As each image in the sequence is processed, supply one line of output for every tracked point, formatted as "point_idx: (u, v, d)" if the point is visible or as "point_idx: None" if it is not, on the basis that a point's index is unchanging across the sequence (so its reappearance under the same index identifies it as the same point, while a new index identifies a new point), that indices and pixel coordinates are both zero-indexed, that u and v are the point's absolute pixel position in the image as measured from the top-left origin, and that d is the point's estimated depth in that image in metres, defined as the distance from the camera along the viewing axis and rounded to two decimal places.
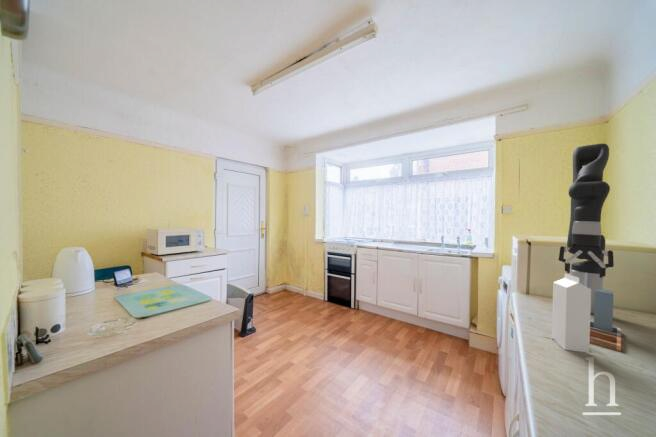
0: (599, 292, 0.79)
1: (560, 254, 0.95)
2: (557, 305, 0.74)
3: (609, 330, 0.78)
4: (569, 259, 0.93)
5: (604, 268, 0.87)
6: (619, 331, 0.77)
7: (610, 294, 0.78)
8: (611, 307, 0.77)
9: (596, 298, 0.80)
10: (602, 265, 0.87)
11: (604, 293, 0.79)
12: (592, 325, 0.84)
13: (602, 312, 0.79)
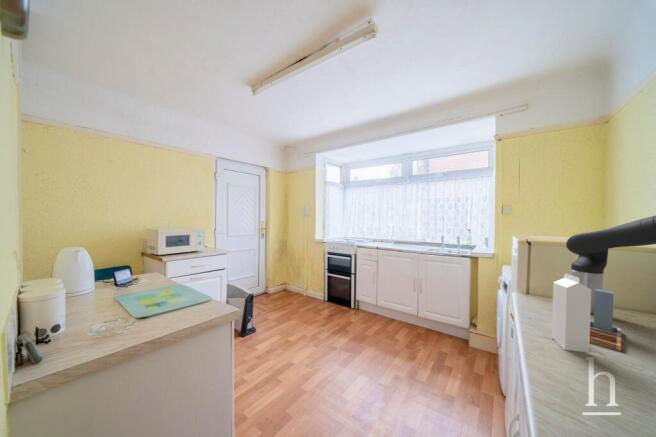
0: (599, 292, 0.79)
1: None
2: (557, 305, 0.74)
3: (609, 330, 0.78)
4: None
5: None
6: (619, 331, 0.77)
7: (610, 294, 0.78)
8: (611, 307, 0.77)
9: (596, 298, 0.80)
10: None
11: (604, 293, 0.79)
12: (592, 325, 0.84)
13: (602, 312, 0.79)
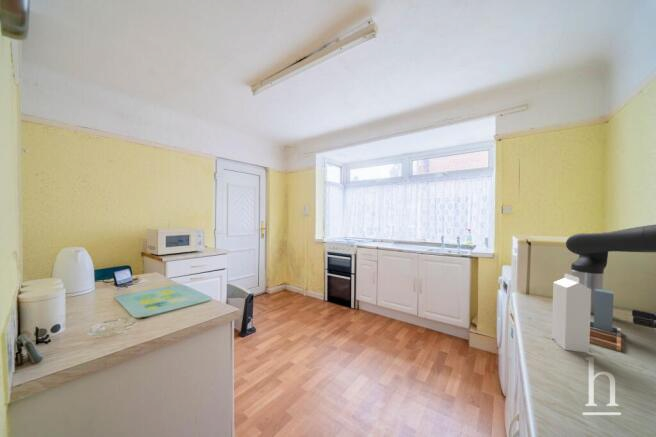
0: (599, 292, 0.79)
1: None
2: (557, 305, 0.74)
3: (609, 330, 0.78)
4: None
5: None
6: (619, 331, 0.77)
7: (610, 294, 0.78)
8: (611, 307, 0.77)
9: (596, 298, 0.80)
10: None
11: (604, 293, 0.79)
12: (592, 325, 0.84)
13: (602, 312, 0.79)
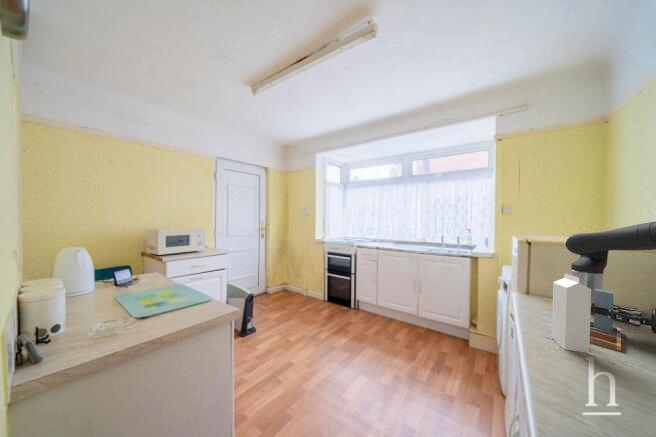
0: (599, 292, 0.79)
1: None
2: (557, 305, 0.74)
3: (609, 330, 0.78)
4: None
5: None
6: (619, 331, 0.77)
7: (610, 294, 0.78)
8: (611, 307, 0.77)
9: (596, 298, 0.80)
10: None
11: (604, 293, 0.79)
12: (592, 325, 0.84)
13: None
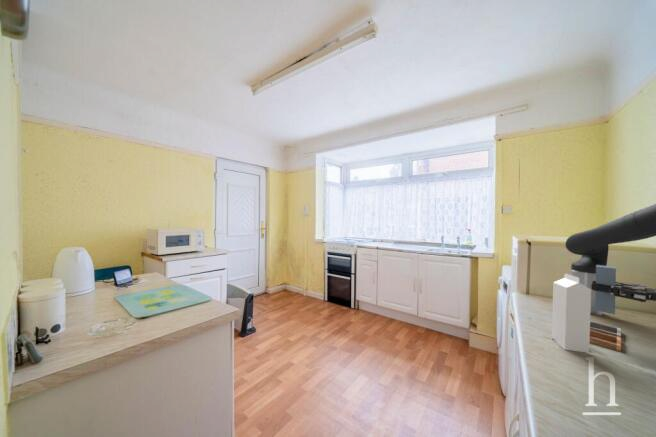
0: (600, 268, 0.74)
1: None
2: (557, 305, 0.74)
3: (612, 308, 0.72)
4: None
5: None
6: (619, 331, 0.77)
7: (612, 269, 0.72)
8: (614, 283, 0.72)
9: (597, 274, 0.74)
10: None
11: (606, 268, 0.73)
12: (592, 325, 0.84)
13: None
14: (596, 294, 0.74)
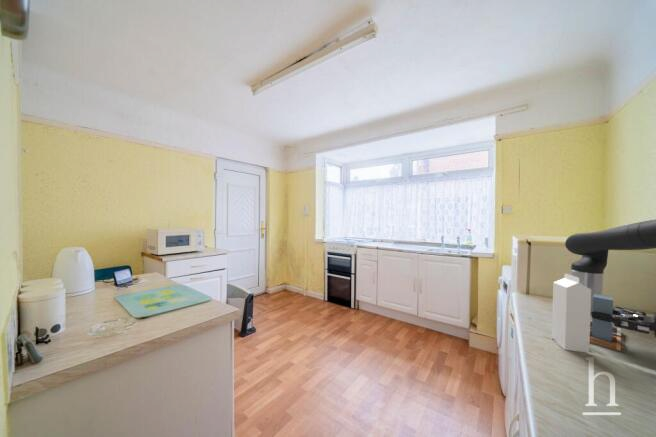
0: (598, 298, 0.73)
1: None
2: (557, 305, 0.74)
3: (608, 340, 0.71)
4: None
5: None
6: (619, 331, 0.77)
7: (609, 301, 0.71)
8: None
9: (594, 305, 0.74)
10: None
11: (603, 299, 0.72)
12: None
13: (601, 320, 0.73)
14: (593, 324, 0.74)
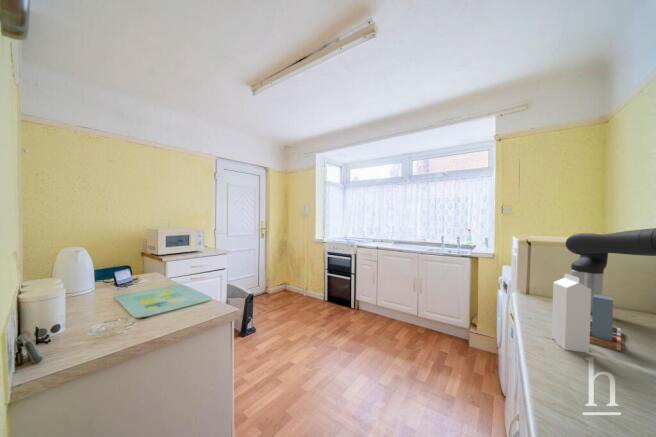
0: (598, 298, 0.73)
1: None
2: (557, 305, 0.74)
3: (608, 340, 0.71)
4: None
5: None
6: (619, 331, 0.77)
7: (609, 301, 0.71)
8: (611, 315, 0.71)
9: (594, 305, 0.74)
10: None
11: (603, 299, 0.72)
12: None
13: (601, 320, 0.73)
14: (593, 324, 0.74)
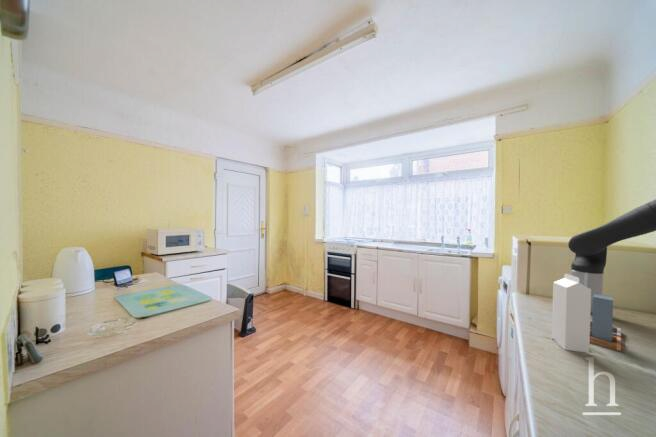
0: (598, 298, 0.73)
1: None
2: (557, 305, 0.74)
3: (608, 340, 0.71)
4: None
5: None
6: (619, 331, 0.77)
7: (609, 301, 0.71)
8: (611, 315, 0.71)
9: (594, 305, 0.74)
10: None
11: (603, 299, 0.72)
12: None
13: (601, 320, 0.73)
14: (593, 324, 0.74)
